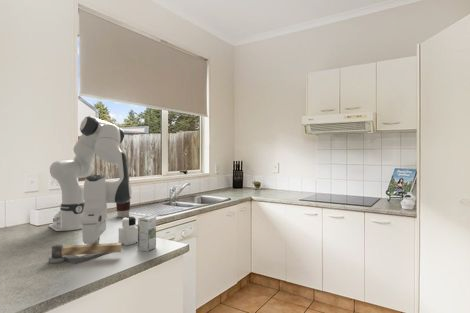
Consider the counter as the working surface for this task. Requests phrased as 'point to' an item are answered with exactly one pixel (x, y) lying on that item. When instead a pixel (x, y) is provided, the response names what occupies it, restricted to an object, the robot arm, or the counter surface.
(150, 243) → the syrup box
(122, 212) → the coffee cup
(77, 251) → the swing arm
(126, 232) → the medicine bottle
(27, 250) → the counter surface
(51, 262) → the label board
